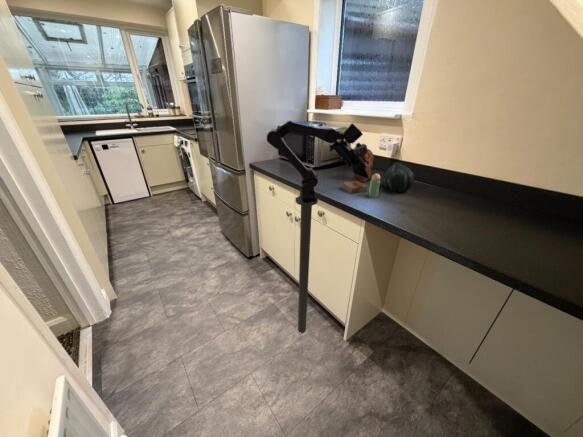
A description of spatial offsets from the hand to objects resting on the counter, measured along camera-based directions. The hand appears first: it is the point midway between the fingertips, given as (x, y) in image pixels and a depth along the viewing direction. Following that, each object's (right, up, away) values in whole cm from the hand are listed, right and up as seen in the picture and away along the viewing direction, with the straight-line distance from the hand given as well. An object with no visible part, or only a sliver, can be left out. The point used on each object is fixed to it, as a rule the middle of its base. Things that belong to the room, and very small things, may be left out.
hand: (365, 174), depth 111 cm
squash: (+21, -6, +14) cm, 26 cm away
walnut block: (-2, -6, +13) cm, 14 cm away
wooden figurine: (+7, +2, +27) cm, 28 cm away
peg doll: (+5, -10, +5) cm, 12 cm away
